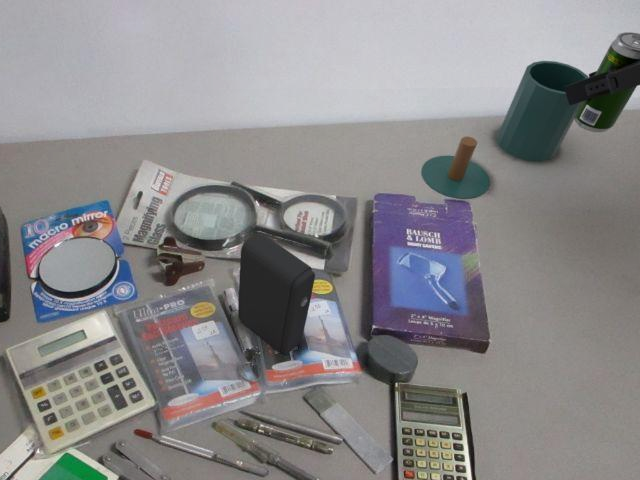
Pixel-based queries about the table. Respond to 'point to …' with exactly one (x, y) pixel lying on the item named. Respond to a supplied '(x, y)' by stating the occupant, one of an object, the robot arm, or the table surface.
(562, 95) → the tin
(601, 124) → the beer can
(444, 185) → the tin lid
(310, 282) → the black rectangular block
